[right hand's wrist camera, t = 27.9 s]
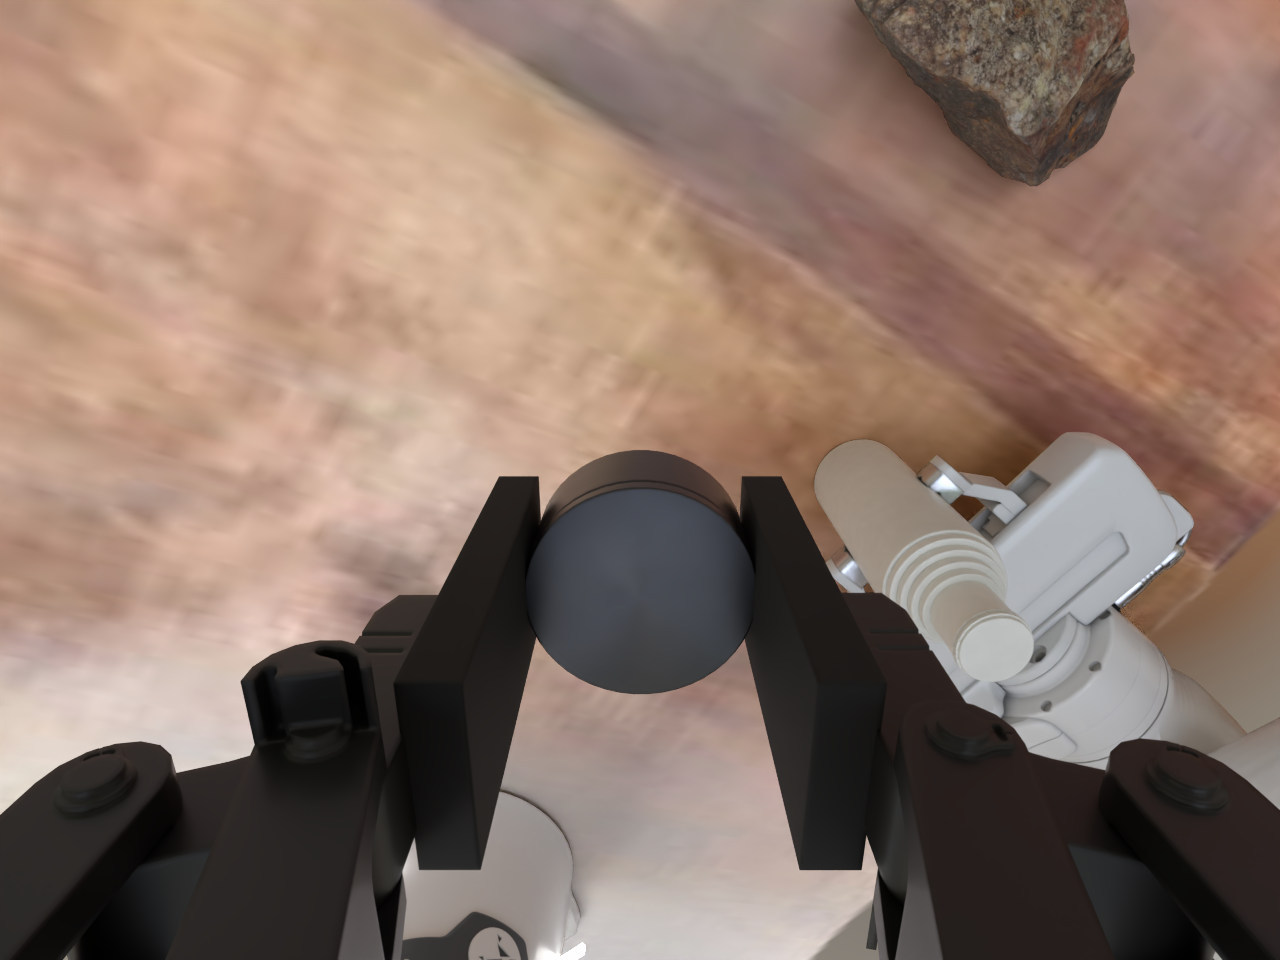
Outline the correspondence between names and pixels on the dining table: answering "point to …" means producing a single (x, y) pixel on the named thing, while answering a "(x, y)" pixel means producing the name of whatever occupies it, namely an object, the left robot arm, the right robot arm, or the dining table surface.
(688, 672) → the cap
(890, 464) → the bottle
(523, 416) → the dining table surface
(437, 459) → the dining table surface
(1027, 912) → the right robot arm
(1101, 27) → the rock
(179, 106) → the dining table surface
